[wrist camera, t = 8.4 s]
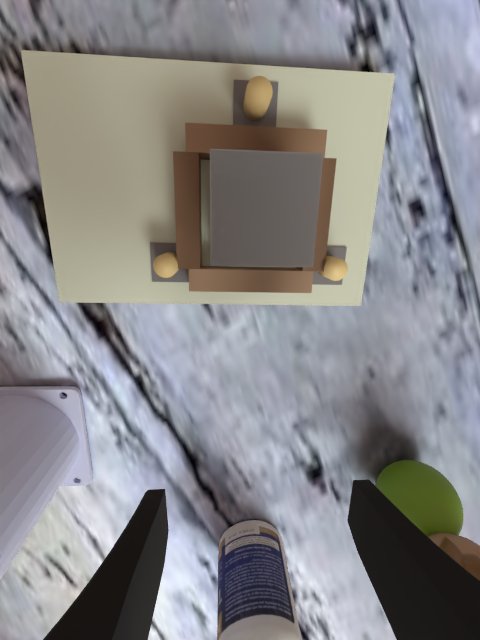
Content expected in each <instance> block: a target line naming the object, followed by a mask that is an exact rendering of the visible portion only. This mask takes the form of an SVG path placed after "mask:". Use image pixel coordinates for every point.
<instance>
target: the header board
mask: <svg viewBox="0 0 480 640" xmlns="http://www.w3.org/2000/svg"><path fill="white" fill-rule="evenodd" d="M21 55H22V62H23V68H24V75H25V81H26V88H27V94H28V101H29V107H30V114H31V120H32V127H33V134H34V140H35V147H36V153H37V160H38V166H39V173H40V179H41V186H42V192H43V199H44V205H45V212H46V218H47V225H48V231H49V238H50V245H51V251H52V258H53V264H54V271H55V277H56V284H57V290H58V297H59V302H86V303H169V304H253V305H336V306H361V300H362V294H363V287H364V280H365V273H366V267H367V260H368V253H369V247H370V240H371V233H372V226H373V220H374V213H375V206H376V199H377V193H378V186H379V179H380V172H381V166H382V159H383V152H384V145H385V139H386V132H387V125H388V118H389V112H390V105H391V98H392V91H393V85H394V78H395V74H390V73H375V72H359V71H343V70H328V69H312V68H296V67H281V66H265V65H249V64H233V63H218V62H202V61H186V60H171V59H155V58H139V57H123V56H108V55H92V54H76V53H61V52H45V51H29V50H21ZM185 123H203V124H223V125H243V126H262V127H282V128H302V129H322V130H327V139H326V149H325V158H337V160H336V169H335V178H334V188H333V197H332V206H331V215H330V225H329V234H328V243H327V252H326V262H325V266H324V272H323V271H314V272H313V282H312V292H311V293H267V292H199V291H189V269H178V263H177V253H176V224H175V195H174V166H173V151H180V152H186V138H185ZM201 228H202V266H211V242H210V160H201ZM231 267H254V266H231ZM281 268H296V267H281Z"/></svg>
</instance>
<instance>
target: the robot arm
mask: <svg viewBox="0 0 480 640" xmlns="http://www.w3.org/2000/svg"><path fill="white" fill-rule="evenodd" d="M62 392H64V393H66V394H67V396H64V395H63V394H62ZM78 478H79V479H78ZM92 479H93V472H92V465H91V458H90V451H89V444H88V437H87V430H86V423H85V416H84V409H83V402H82V395H81V391H80V390H79V389H78V388H77V387H74V386H32V387H0V580H1V578H2V577H3V575H4V574H5V572H6V570H7V569H8V567H9V566H10V564H11V563H12V561H13V559H14V558H15V556H16V555H17V553H18V552H19V550H20V548H21V547H22V545H23V544H24V542H25V540H26V539H27V537H28V536H29V534H30V533H31V531H32V529H33V528H34V526H35V525H36V523H37V522H38V520H39V518H40V517H41V515H42V514H43V512H44V511H45V509H46V507H47V506H48V504H49V503H50V501H51V500H52V498H53V496H54V495H55V493H56V492H57V490H58V489H59V487H60V486H78V485H88V484H90V483H91V481H92ZM348 524H349V527H350V530H351V533H352V536H353V539H354V542H355V545H356V548H357V551H358V553H359V556H360V558H361V560H362V563H363V565H364V567H365V569H366V572H367V574H368V576H369V578H370V581H371V583H372V585H373V587H374V589H375V592H376V594H377V596H378V598H379V601H380V603H381V605H382V607H383V609H384V612H385V614H386V616H387V618H388V621H389V623H390V625H391V627H392V630H393V632H394V634H395V637H396V639H397V640H480V581H479V580H478V579H477V578H475V577H474V576H473V575H472V574H470V573H469V572H468V571H467V570H465V569H464V568H463V567H462V566H461V565H459V564H458V563H457V562H456V561H455V560H453V559H452V558H451V557H450V556H449V555H448V554H446V553H445V552H444V551H443V550H442V549H441V548H440V547H438V546H437V545H436V544H435V543H434V542H433V541H432V540H431V539H430V538H428V537H427V536H426V535H425V534H424V533H423V532H422V531H421V530H420V529H419V528H418V527H417V526H416V525H414V524H413V523H412V522H411V521H410V520H409V519H408V518H407V517H406V516H405V515H404V514H403V513H402V512H401V511H400V510H399V509H398V508H397V507H396V506H395V505H394V504H393V503H392V502H391V501H390V500H389V499H388V498H387V497H386V496H385V495H384V494H383V493H382V492H381V491H380V490H379V489H378V488H377V487H376V486H375V485H374V484H373V483H372V482H371V481H370V480H353V487H352V494H351V501H350V508H349V515H348ZM167 539H168V519H167V507H166V496H165V489H158V490H148V491H147V492H146V493H145V495H144V496H143V498H142V500H141V502H140V504H139V506H138V507H137V509H136V511H135V513H134V514H133V516H132V518H131V519H130V521H129V523H128V524H127V526H126V528H125V529H124V531H123V533H122V534H121V536H120V537H119V539H118V540H117V542H116V543H115V545H114V547H113V548H112V550H111V551H110V553H109V554H108V556H107V557H106V558H105V560H104V561H103V563H102V564H101V566H100V567H99V568H98V570H97V571H96V573H95V574H94V576H93V577H92V579H91V580H90V581H89V583H88V584H87V585H86V587H85V588H84V589H83V591H82V592H81V593H80V595H79V596H78V597H77V599H76V600H75V601H74V602H73V604H72V605H71V606H70V607H69V609H68V610H67V611H66V613H65V614H64V615H63V616H62V618H61V619H60V620H59V621H58V622H57V624H56V625H55V626H54V627H53V628H52V630H51V631H50V632H49V633H48V634H47V636H46V637H45V638H44V639H43V640H148V635H149V631H150V626H151V622H152V617H153V613H154V608H155V604H156V599H157V595H158V590H159V586H160V581H161V576H162V572H163V567H164V561H165V554H166V547H167Z"/></svg>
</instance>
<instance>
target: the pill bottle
mask: <svg viewBox="0 0 480 640" xmlns="http://www.w3.org/2000/svg"><path fill="white" fill-rule="evenodd" d="M217 640H301V633H300V629H299V624H298V619H297V614H296V609H295V604H294V599H293V593H292V589H291V583H290V578H289V573H288V568H287V562H286V558H285V552H284V547H283V543H282V539H281V536H280V534H279V533H278V531H277V530H276V529H275V528H274V527H273V526H272V525H270V524H268V523H266V522H263V521H259V520H249V521H243V522H240V523H237V524H235V525H233V526H231V527H230V528H229V529H227V530H226V531H225V532H224V534H223V535H222V537H221V539H220V543H219V555H218V631H217Z"/></svg>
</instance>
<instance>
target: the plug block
mask: <svg viewBox="0 0 480 640" xmlns="http://www.w3.org/2000/svg"><path fill="white" fill-rule="evenodd" d="M322 164H323V153H306V152H280V151H255V150H229V149H210V242H211V266H254V267H313V262H314V252H315V241H316V230H317V219H318V208H319V197H320V186H321V175H322Z"/></svg>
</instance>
